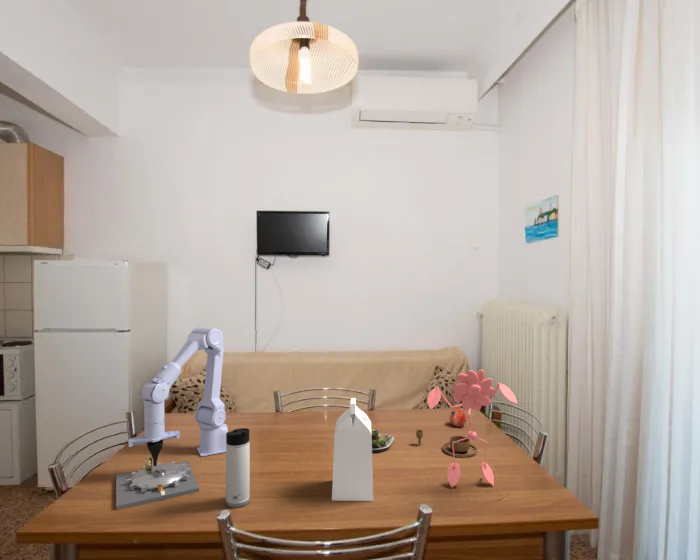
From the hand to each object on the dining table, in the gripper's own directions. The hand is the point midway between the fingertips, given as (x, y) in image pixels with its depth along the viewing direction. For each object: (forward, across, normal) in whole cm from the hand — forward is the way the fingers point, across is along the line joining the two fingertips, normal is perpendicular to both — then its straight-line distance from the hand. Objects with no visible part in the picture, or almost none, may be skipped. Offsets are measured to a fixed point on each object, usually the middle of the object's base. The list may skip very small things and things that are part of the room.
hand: (154, 464), depth 135 cm
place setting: (+5, +96, -27) cm, 100 cm away
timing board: (+3, 0, -7) cm, 7 cm away
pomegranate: (+4, +115, -11) cm, 115 cm away
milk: (+4, +50, -38) cm, 63 cm away
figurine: (+4, +81, -54) cm, 97 cm away
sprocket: (+2, +1, -6) cm, 6 cm away
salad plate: (+4, +72, -10) cm, 73 cm away
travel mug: (+4, +19, -29) cm, 34 cm away
